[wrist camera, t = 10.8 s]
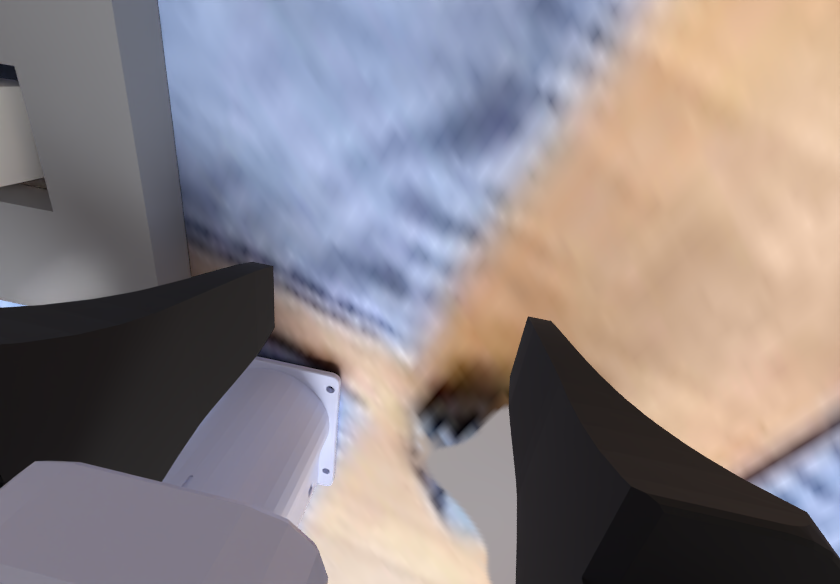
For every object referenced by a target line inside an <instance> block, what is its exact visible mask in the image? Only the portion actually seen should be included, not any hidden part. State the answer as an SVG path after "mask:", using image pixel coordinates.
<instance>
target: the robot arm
mask: <svg viewBox="0 0 840 584" xmlns="http://www.w3.org/2000/svg"><path fill="white" fill-rule="evenodd" d="M274 327H275V324H274V281H273V266H270V265H265V264H260V263H255V262H250V263H243V264H239V265H235V266H231V267H227V268H223V269H219V270H216V271H212V272H209V273H205V274H202V275H198V276H195V277H191V278H187V279H184V280H180V281H176V282H172V283H168V284H164V285H160V286H156V287H152V288H148V289H144V290H139V291H134V292H129V293H124V294H119V295H113V296H107V297H101V298H95V299H88V300H80V301H71V302H63V303H54V304H45V305H35V306H21V307H5V308H0V584H328V576H327V573H326V570H325V567H324V564H323V562H322V559H321V556H320V553H319V550H318V548H317V546H316V545H315V543H314V542H313V541H312V540H311V539H310V538H308V537H307V536H306V535H305V534H304V533H303V532H302V531H301V530H300V529H298V526H299V524H300V521H301V519H302V517H303V515H304V512H305V510H306V508H307V505H308V503H309V501H310V499H311V496H312V494H313V492H314V490H315V487H316V485H317V484H320V485H324V486H330V485H332V483H333V481H334V476H335V461H336V445H337V430H338V415H339V400H340V385H341V379H340V377H339V376H338V375H337V374H335V373H332V372H328V371H323V370H318V369H314V368H309V367H304V366H300V365H295V364H290V363H286V362H281V361H277V360H272V359H267V358H263V357H258V356H257V355H258V354H259V352H260V351H261V349H262V347H263V346H264V344H265V343H266V341H267V339H268V338H269V336H270V334H271V333H272V331H273V329H274ZM329 386H331V387H333V388H334V389H331V388H330V387H329ZM509 416H510V426H511V436H512V445H513V456H514V465H515V475H516V487H517V555H516V559H517V560H516V584H840V558H839V556H838V555H837V554H836V552H835V551H834V549H833V548H832V547H831V545H830V544H829V542H828V541H827V540H826V538H825V537H824V535H823V534H822V533H821V531H820V530H819V528H818V527H817V526H816V524H815V523H814V521H813V520H812V519H811V517H810V516H809V514H808V513H807V512H805V511H803V510H801V509H800V508H798V507H796V506H794V505H792V504H790V503H788V502H786V501H784V500H782V499H780V498H778V497H776V496H775V495H773V494H771V493H769V492H767V491H765V490H763V489H761V488H759V487H757V486H755V485H753V484H751V483H750V482H748V481H746V480H744V479H742V478H740V477H739V476H737V475H735V474H733V473H732V472H730V471H728V470H727V469H725V468H723V467H722V466H720V465H718V464H717V463H715V462H713V461H711V460H710V459H708V458H706V457H705V456H703V455H702V454H700V453H699V452H697V451H695V450H694V449H692V448H691V447H689V446H688V445H686V444H685V443H683V442H682V441H680V440H679V439H677V438H676V437H675V436H673V435H672V434H670V433H669V432H667V431H666V430H665V429H663V428H662V427H660V426H659V425H658V424H656V423H655V422H654V421H652V420H651V419H650V418H648V417H647V416H646V415H644V414H643V413H642V412H641V411H640V410H638V409H637V408H636V407H635V406H634V405H632V404H631V403H630V402H629V401H627V400H626V399H625V398H624V397H623V396H622V395H621V394H619V393H618V392H617V391H616V390H615V389H614V388H613V387H612V386H611V385H610V384H609V383H608V382H607V381H606V380H605V379H604V378H603V377H602V376H600V375H599V374H598V373H597V371H596V370H595V369H594V368H593V367H592V366H591V365H590V364H589V363H588V362H587V361H586V360H585V359H584V358H583V357H582V355H581V354H580V353H579V352H578V351H577V350H576V349H575V348H574V346H573V345H572V344H571V343H570V342H569V341H568V340H567V338H566V337H565V336H564V335H563V334H562V333H561V331H560V330H559V329H558V328H557V327H556V326H555V325H554V324H553V323H552V322H551V321H548V320H543V319H538V318H533V317H528V318H527V321H526V325H525V328H524V331H523V335H522V338H521V342H520V345H519V348H518V352H517V355H516V358H515V362H514V365H513V368H512V372H511V375H510V388H509Z"/></svg>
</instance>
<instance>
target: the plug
mask: <svg viewBox="0 0 840 584" xmlns="http://www.w3.org/2000/svg"><path fill="white" fill-rule="evenodd" d="M39 178H44V175H43V171H42V167H41V164H40V160H39V156H38V152H37V149H36V145H35V141H34V138H33V134H32V130H31V126H30V123H29V119H28V115H27V111H26V108H25V104H24V100H23V96H22V93H21V89H20V85H19V81H18V80H12V79H5V78H0V187H3V186H7V185H12V184H16V183H21V182H25V181H30V180H35V179H39Z"/></svg>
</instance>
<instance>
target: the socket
mask: <svg viewBox="0 0 840 584" xmlns="http://www.w3.org/2000/svg"><path fill="white" fill-rule="evenodd" d="M0 64H5V65H11V66H14V67H15V70H16V74H17V78H18V81H19V85H20V89H21V93H22V96H23V100H24V104H25V108H26V111H27V115H28V119H29V123H30V126H31V130H32V134H33V138H34V141H35V145H36V149H37V152H38V156H39V160H40V164H41V167H42V171H43V175H44V179H45V182H46V186H47V189H42V188H37V187H32V186H26V185H21V184H12V185H7V186H3V187H0V300H4V301H8V302H13V303H18V304H22V305H27V306H35V305H45V304H54V303H63V302H71V301H80V300H88V299H95V298H101V297H107V296H113V295H119V294H124V293H129V292H134V291H139V290H144V289H148V288H152V287H156V286H160V285H164V284H168V283H172V282H176V281H180V280H184V279H187V278H191V272H190V264H189V256H188V247H187V239H186V231H185V223H184V215H183V207H182V198H181V190H180V182H179V174H178V166H177V158H176V149H175V141H174V133H173V125H172V117H171V109H170V100H169V92H168V84H167V76H166V68H165V60H164V51H163V43H162V35H161V27H160V19H159V11H158V2H157V0H0Z"/></svg>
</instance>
